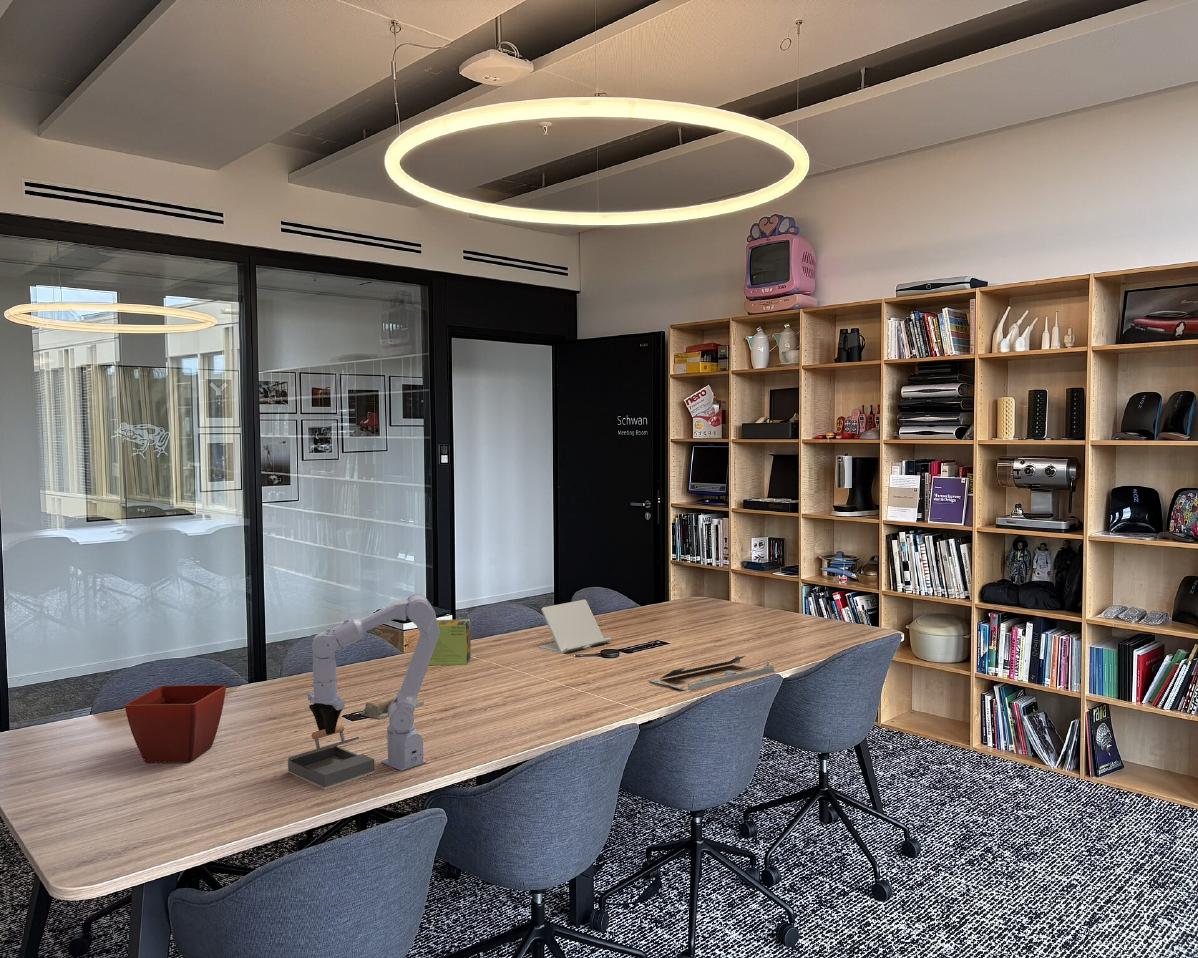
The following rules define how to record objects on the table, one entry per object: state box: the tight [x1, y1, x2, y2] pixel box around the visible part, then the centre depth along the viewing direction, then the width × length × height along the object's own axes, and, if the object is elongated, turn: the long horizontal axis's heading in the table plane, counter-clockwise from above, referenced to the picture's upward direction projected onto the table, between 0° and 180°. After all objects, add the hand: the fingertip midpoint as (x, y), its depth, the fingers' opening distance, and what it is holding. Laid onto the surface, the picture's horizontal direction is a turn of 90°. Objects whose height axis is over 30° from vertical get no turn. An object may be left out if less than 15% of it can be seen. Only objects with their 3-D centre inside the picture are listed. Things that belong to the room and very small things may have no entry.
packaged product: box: [359, 692, 425, 721], centre depth 276 cm, size 18×5×10 cm
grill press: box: [287, 724, 360, 761], centre depth 226 cm, size 12×14×5 cm
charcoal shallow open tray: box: [287, 745, 376, 791], centre depth 224 cm, size 18×14×4 cm
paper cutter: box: [647, 655, 775, 691], centre depth 309 cm, size 18×45×6 cm, turn 124°
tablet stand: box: [538, 599, 612, 654], centre depth 359 cm, size 18×25×17 cm
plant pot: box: [124, 684, 227, 764], centre depth 238 cm, size 19×19×17 cm
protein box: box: [428, 618, 472, 666], centre depth 336 cm, size 10×15×16 cm
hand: (326, 732), depth 224 cm, fingers open, 3 cm apart
